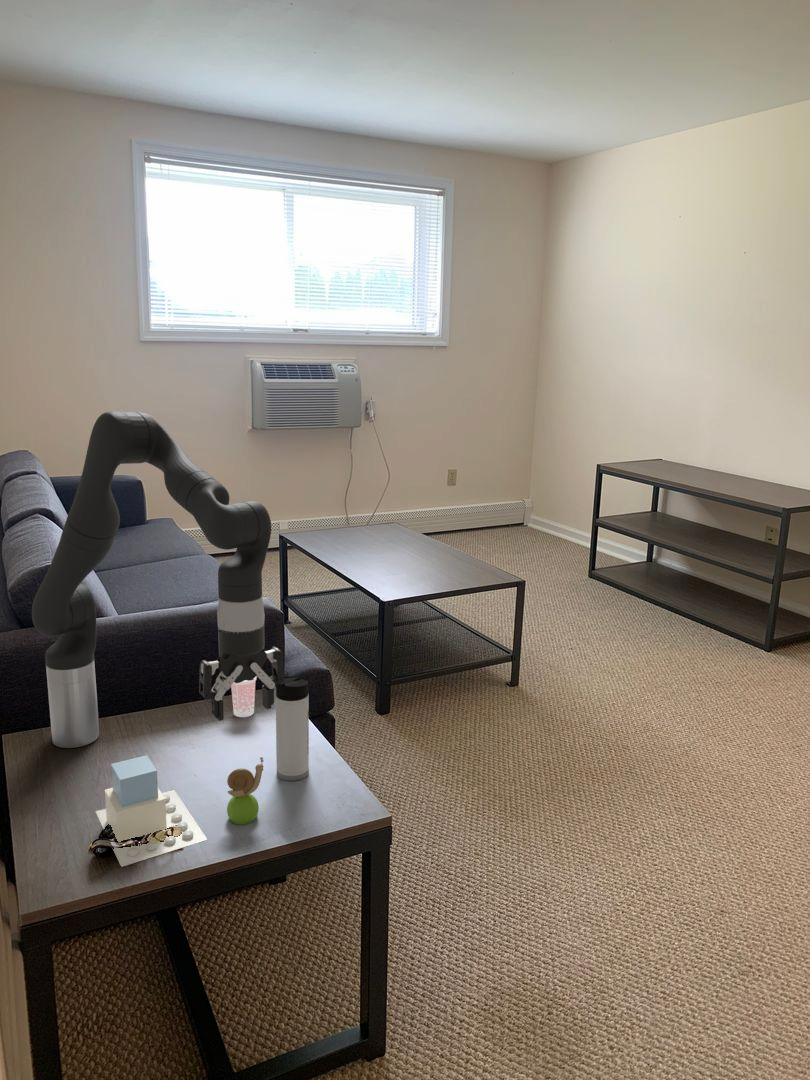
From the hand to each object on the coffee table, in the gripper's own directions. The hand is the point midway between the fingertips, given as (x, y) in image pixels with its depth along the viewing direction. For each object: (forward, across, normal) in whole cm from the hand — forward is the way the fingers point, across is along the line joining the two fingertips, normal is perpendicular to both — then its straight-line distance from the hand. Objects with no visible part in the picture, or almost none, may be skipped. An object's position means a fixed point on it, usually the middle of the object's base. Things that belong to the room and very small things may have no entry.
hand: (243, 713), depth 135 cm
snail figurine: (+21, 0, 0) cm, 21 cm away
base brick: (+20, +17, -7) cm, 27 cm away
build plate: (+21, +15, -6) cm, 26 cm away
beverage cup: (+21, -16, -41) cm, 49 cm away
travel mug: (+21, -14, -11) cm, 28 cm away
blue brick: (+14, +17, -7) cm, 23 cm away
